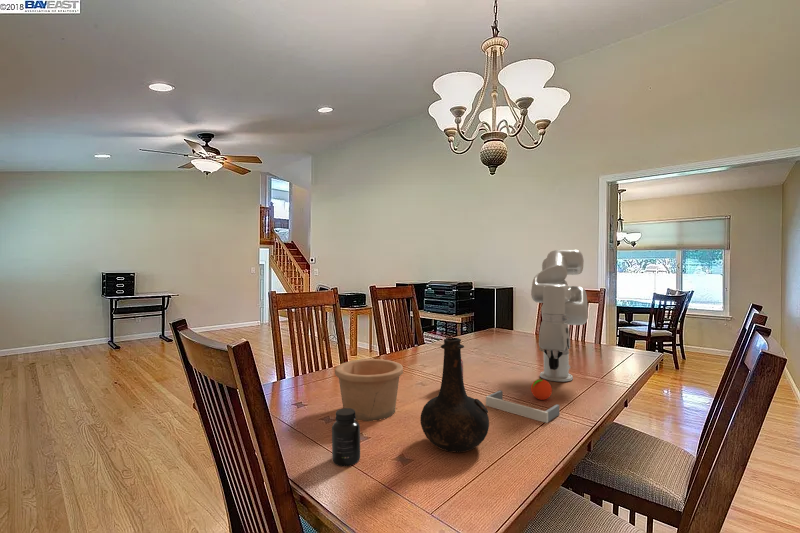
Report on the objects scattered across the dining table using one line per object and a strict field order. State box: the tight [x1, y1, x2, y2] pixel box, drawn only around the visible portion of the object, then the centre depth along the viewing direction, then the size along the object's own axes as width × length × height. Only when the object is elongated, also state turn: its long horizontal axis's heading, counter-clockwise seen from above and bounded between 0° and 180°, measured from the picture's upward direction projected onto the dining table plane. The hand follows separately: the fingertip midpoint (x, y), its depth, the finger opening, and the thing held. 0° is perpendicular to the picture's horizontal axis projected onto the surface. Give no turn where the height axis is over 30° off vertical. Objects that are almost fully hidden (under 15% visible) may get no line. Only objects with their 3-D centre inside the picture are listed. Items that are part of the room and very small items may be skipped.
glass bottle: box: [419, 337, 490, 453], centre depth 106 cm, size 18×18×28 cm
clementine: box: [530, 378, 553, 401], centre depth 140 cm, size 8×7×7 cm
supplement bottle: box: [331, 407, 361, 467], centre depth 98 cm, size 7×7×12 cm
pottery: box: [334, 358, 404, 422], centre depth 130 cm, size 22×22×14 cm
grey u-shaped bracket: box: [485, 389, 560, 424], centre depth 130 cm, size 9×21×3 cm, turn 45°
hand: (553, 368), depth 147 cm, fingers closed
